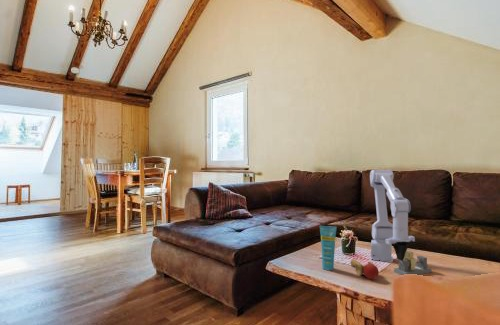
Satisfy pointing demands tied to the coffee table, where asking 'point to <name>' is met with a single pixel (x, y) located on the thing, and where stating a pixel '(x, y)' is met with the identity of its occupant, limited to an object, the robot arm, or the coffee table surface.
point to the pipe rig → (419, 268)
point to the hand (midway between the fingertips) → (400, 259)
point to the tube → (328, 246)
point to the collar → (410, 259)
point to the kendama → (365, 269)
